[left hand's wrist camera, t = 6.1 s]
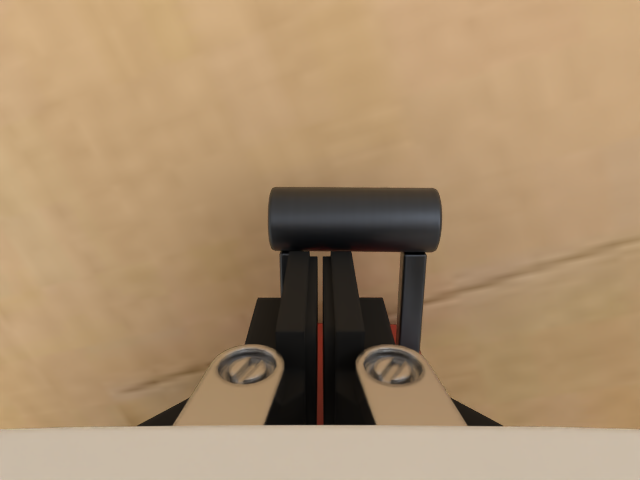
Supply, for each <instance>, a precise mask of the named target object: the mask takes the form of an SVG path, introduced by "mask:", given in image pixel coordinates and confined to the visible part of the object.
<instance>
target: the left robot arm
mask: <svg viewBox="0 0 640 480" xmlns="http://www.w3.org/2000/svg"><path fill="white" fill-rule="evenodd" d="M317 372H318V258H317V256H310V251H289V255H288V261H287V267H286V273H285V279H284V284H283V290H282V296H281V298H258V299H257V302H256V306H255V309H254V313H253V316H252V320H251V324H250V327H249V331H248V335H247V338H246V342H245V345H241V346H236V347H233V348H230V349H228V350H225V351H224V352H222V353H221V354H219V355H218V356H217V357H216V358H215V359H214V360H213V361H212V363H211V364H210V366H209V367H208V369H207V371H206V372H205V374H204V376H203V377H202V379H201V380H200V382H199V384H198V385H197V387H196V388H195V390H194V392H193V393H192V395H191V397H190V398H188V399H186V400H185V401H183V402H181V403H179V404H177V405H175V406H173V407H171V408H170V409H168V410H166V411H164V412H162V413H160V414H158V415H157V416H155V417H153V418H151V419H149V420H147V421H145V422H143V423H142V424H140V425H138V426H128V427H56V428H26V429H0V480H640V429H616V428H581V427H517V426H502V425H500V424H499V423H497V422H495V421H493V420H491V419H489V418H487V417H486V416H484V415H482V414H480V413H478V412H476V411H474V410H472V409H471V408H469V407H467V406H465V405H463V404H461V403H459V402H458V401H456V400H454V399H452V398H450V397H449V395H448V393H447V392H446V390H445V388H444V387H443V385H442V384H441V382H440V380H439V379H438V377H437V376H436V374H435V372H434V371H433V369H432V367H431V366H430V364H429V363H428V361H427V360H426V359H425V358H424V357H423V356H422V355H421V354H419V353H418V352H416V351H415V350H412V349H410V348H407V347H404V346H399V345H395V341H394V337H393V334H392V330H391V326H390V323H389V319H388V315H387V312H386V308H385V304H384V301H383V298H359V294H358V288H357V282H356V277H355V271H354V265H353V259H352V253H351V251H331V256H323V425H317Z"/></svg>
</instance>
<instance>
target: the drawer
mask: <svg viewBox="0 0 640 480" xmlns="http://www.w3.org/2000/svg"><path fill="white" fill-rule="evenodd" d="M441 229H442V206H441V200H440V196H439V193H438V191H437V190H436V189H434V188H336V187H274V188H272V190H271V193H270V197H269V204H268V235H269V242H270V246H271V248H272V249H273V250H275V251H281V252H280V288H281V296H282V290H283V284H284V279H285V273H286V267H287V261H288V255H289V251H362V252H401V256H400V274H399V291H398V309H397V325H395V324H390V326H391V330H392V334H393V337H394V341H395V345H399V346H404V347H407V348H410V349H412V350H415V351H416V352H418V353H419V354H421V352H420V339H421V326H422V312H423V299H424V286H425V273H426V259H427V255H426V253H425V252H434V251H435V250H436V249H437V247H438V244H439V241H440V237H441ZM317 425H323V323H318V372H317Z"/></svg>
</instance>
